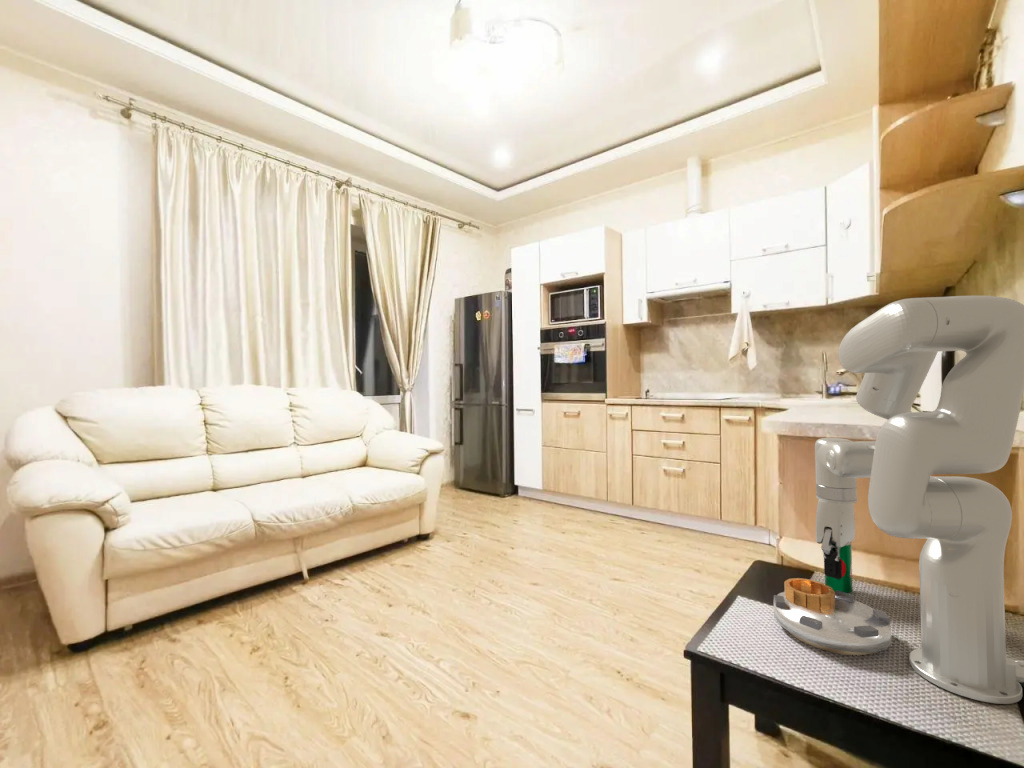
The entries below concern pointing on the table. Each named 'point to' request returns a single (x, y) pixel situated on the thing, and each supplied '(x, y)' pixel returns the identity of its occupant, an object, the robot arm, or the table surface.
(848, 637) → the oval platform with pads
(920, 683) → the table surface
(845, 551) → the soda can
